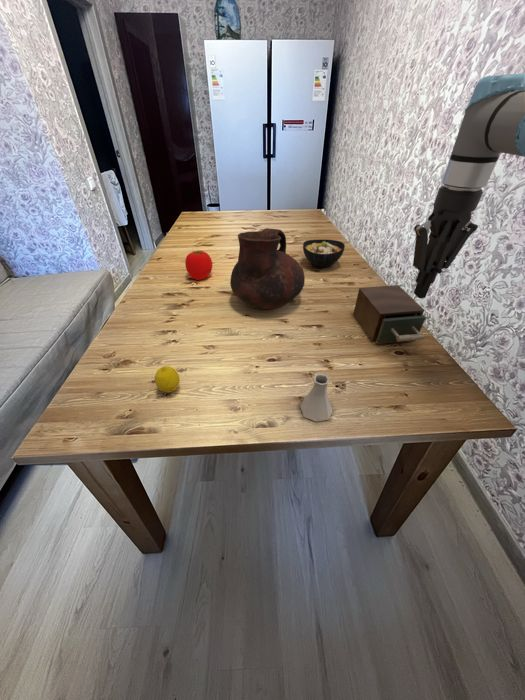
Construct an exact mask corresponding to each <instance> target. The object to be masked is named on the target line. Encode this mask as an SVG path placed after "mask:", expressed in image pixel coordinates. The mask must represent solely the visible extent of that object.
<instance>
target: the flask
mask: <svg viewBox="0 0 525 700" xmlns="http://www.w3.org/2000/svg"><path fill="white" fill-rule="evenodd" d="M329 382H330V378H329V376H328V375H327V374H324V373H316V374H314V377H313V385H312V388H311V389H310V391H309V392H308V393H307V394H306V395H305V397H304V399H303V401H302V402H301V405H300V410H301V412H302V415H303V418H305V419H308V420H310V421H314V422H316V423H317V422H323V421H329V420H330V418H331V415H332V413H333V407H332V404H331V401H330V398H329V394H328V384H329Z"/></svg>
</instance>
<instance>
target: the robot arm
mask: <svg viewBox="0 0 525 700" xmlns="http://www.w3.org/2000/svg"><path fill="white" fill-rule="evenodd" d="M501 154H506V155H511V156H512V155H513V156H518V157H524V158H525V73H513V74H512V73H511V74H509V73H508V74H495V75H494V74H493V75H488V76H484V77H482V78H480V79H479V81H478V82H477V83H476V85H475V86H474V89H473V92H472V95H471V97H470V99H469V102H468V104H467V106H466V108H465V110H464V115H463V118H462V120H461V123H460V127H459V129H458V132H457V136H456V138H455V142H454V145H453V147H452V151H451V154H450V157H449V159H448V161H447V165H446V168H445V171H444V174H443V177H442V179H441V184H442V185H441V186H440V187H438V190H437V193H436V197H435V199H434V202H433V211H432V212H431V214H430V215H429V216H428V218H427V221H425V222H423V223H422V224H419V223H418V224H416V225H415V226H414V228H413V229H414V232H415V242H414V243H415V245H414V252H413V261H412V266H413V267H414V268H415V269H416V270H418V273H417V276H416V279H415V283H416V286H415V288H414V291H413V294H414V295H415V296H416V297H417V298H418V299H426V297H427V295H428V292H429V290H430V287H431V286H432V285H433V284H434V283H435V280H436V278H437V276H438V274H439V275H440V274H442V273H443V272H444V270H448V269H449V268H450V266H451V265H452V263H453V262H454V260H455V259H456V257H457V256H458V254H459V253H460V252H461V250H462V248H463V247H464V245H465V244H466V243H467V241H468V239H469V238H470V236H472V235H473V233H475V231H477V230H478V228H479V225H478V224H476V223H474V222H473V221H472V220H471V219H472V213H473V212H474V211H476V209H477V208H478V205H479V204H480V201H481V199H482V196H483V194H484V189H483V188H485V187H486V186H487V185H488V183H489V180H490V178H491V176H492V175H493V171H494V169H495V167H496V164H497V163H498V160H499V158H500V155H501ZM443 269H444V270H443Z"/></svg>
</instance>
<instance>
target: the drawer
mask: <svg viewBox="0 0 525 700" xmlns="http://www.w3.org/2000/svg"><path fill="white" fill-rule="evenodd" d="M426 319H427V318H426V316H425V315H424V314H423V315H420V316H417V313H414V314H403V315H391V316H382V319H381V323H380V326H379V329H378V332H377V336H376V337H377V340H376V344H378V345H380V344H381V345H382V344H392V343H403V342H412V341H413V342H415V341H419V340H420V341H421V340H424V339H425V333H421V330H422V327H423V326H424V323H425V321H426Z"/></svg>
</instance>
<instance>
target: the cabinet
mask: <svg viewBox="0 0 525 700" xmlns="http://www.w3.org/2000/svg"><path fill="white" fill-rule="evenodd" d="M355 300H356V301H355V304H354V308H353V313H352V315H353V316H354V318H355V320H356V321H357V322H358V324H359V326H360V327H361V328H362V330H363V331H364V332H365V334H366V336H367V338H368V339H369V340H370V341H371V342H372V343H375V342H376V340H377V337H376V336H377V332H378V329H379V326H380V323H381V319H382V316H391V315H403V314H414V313H417V316H420V315H424V312H425V309H424V308H423V307H422V306H421V305H420V304H419V303H418V302H417V301H416V300H415V299H414V298H413V297H411V295H410V294H409V293H407V291H405V290H404V289H403V287H401V286H400V285H399V284H395V285H394V284H392V285H381V286H380V285H379V286H370V287H369V286H367V287H359V288H358V292H357V296H356V299H355ZM376 343H377V342H376Z"/></svg>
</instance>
